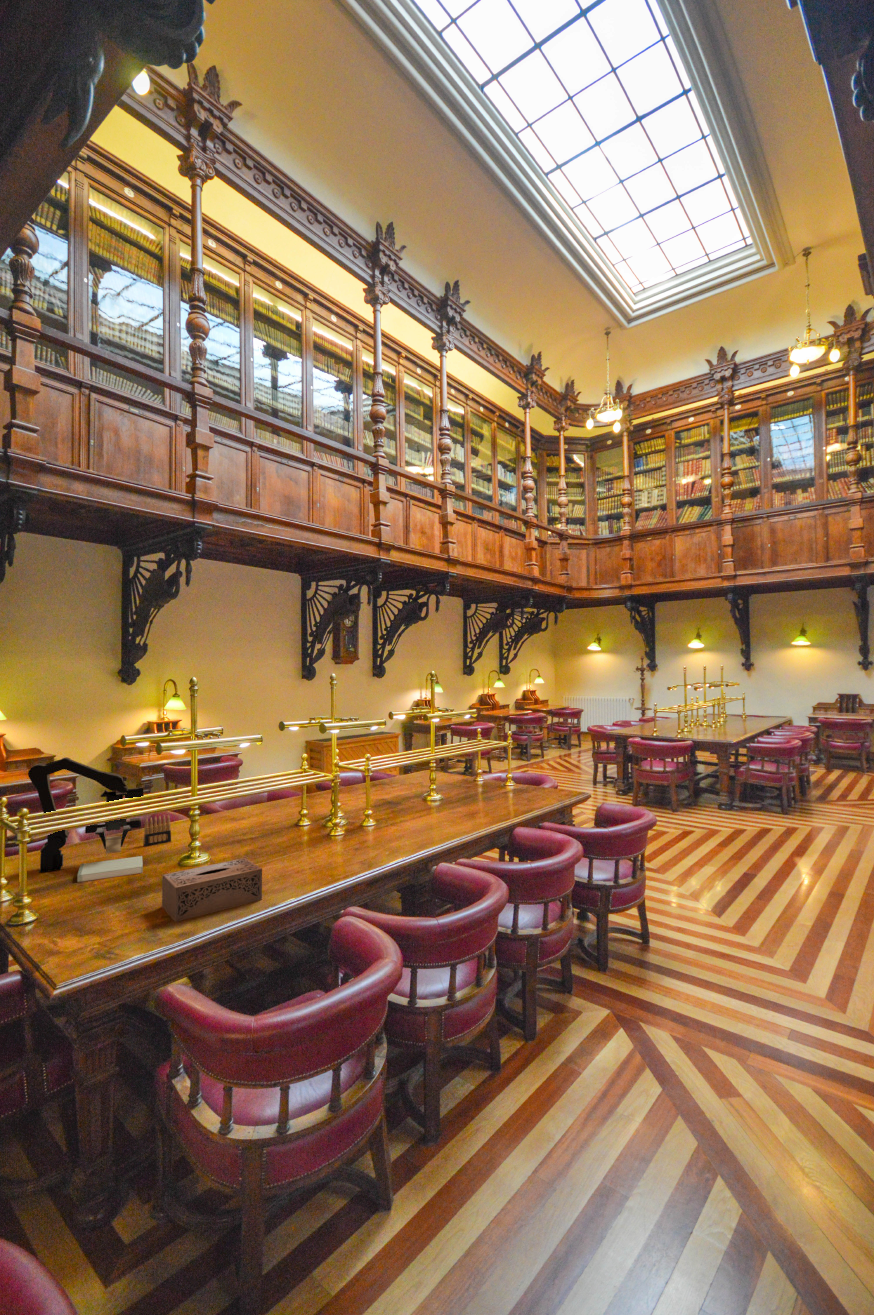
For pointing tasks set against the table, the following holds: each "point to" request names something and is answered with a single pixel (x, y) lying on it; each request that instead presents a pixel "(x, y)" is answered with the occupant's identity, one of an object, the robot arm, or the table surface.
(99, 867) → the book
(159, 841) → the ammunition clip
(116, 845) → the maple block
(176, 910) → the tissue box cover
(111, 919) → the table surface
